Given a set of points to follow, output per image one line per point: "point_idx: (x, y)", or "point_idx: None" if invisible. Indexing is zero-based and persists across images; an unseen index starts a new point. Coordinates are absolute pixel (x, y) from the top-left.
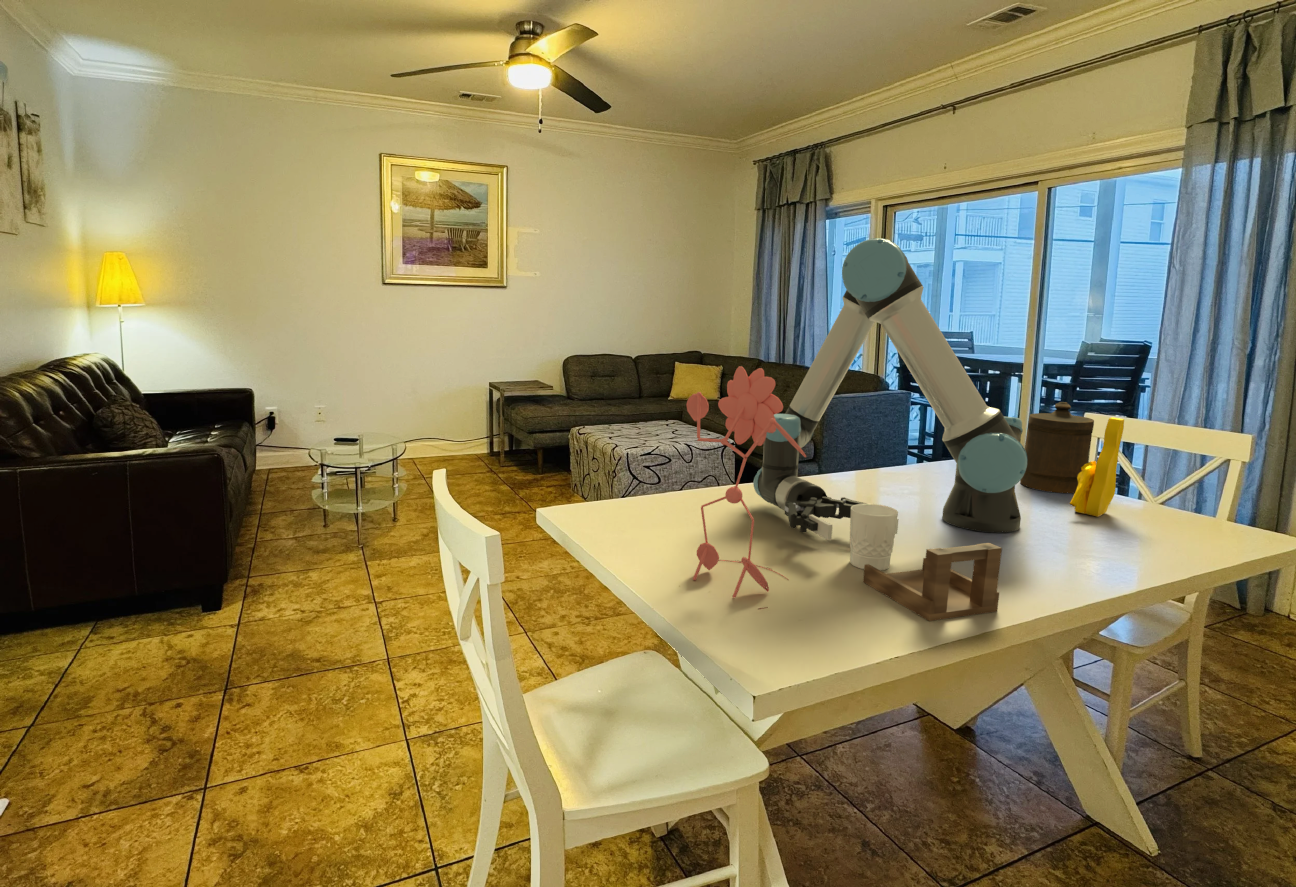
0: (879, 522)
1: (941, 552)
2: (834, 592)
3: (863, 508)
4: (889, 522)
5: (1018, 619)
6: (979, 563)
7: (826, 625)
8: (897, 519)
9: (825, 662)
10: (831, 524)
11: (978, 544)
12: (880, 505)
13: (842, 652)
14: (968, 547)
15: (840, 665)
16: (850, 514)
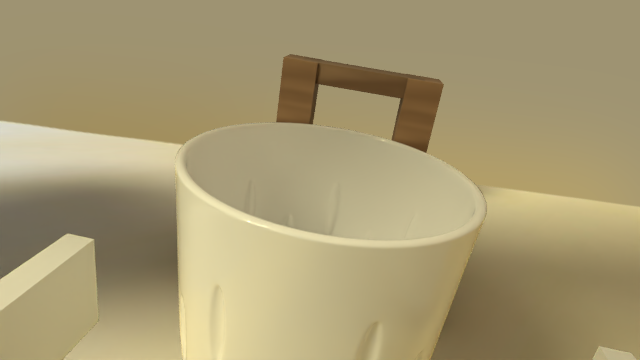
0: (379, 168)
1: (424, 78)
2: (565, 325)
3: (284, 261)
4: (328, 159)
5: None
6: (314, 97)
7: (619, 254)
8: (73, 236)
9: (633, 214)
10: (605, 353)
11: (314, 62)
12: (190, 176)
13: (603, 215)
14: (349, 66)
15: (612, 206)
16: (457, 274)
